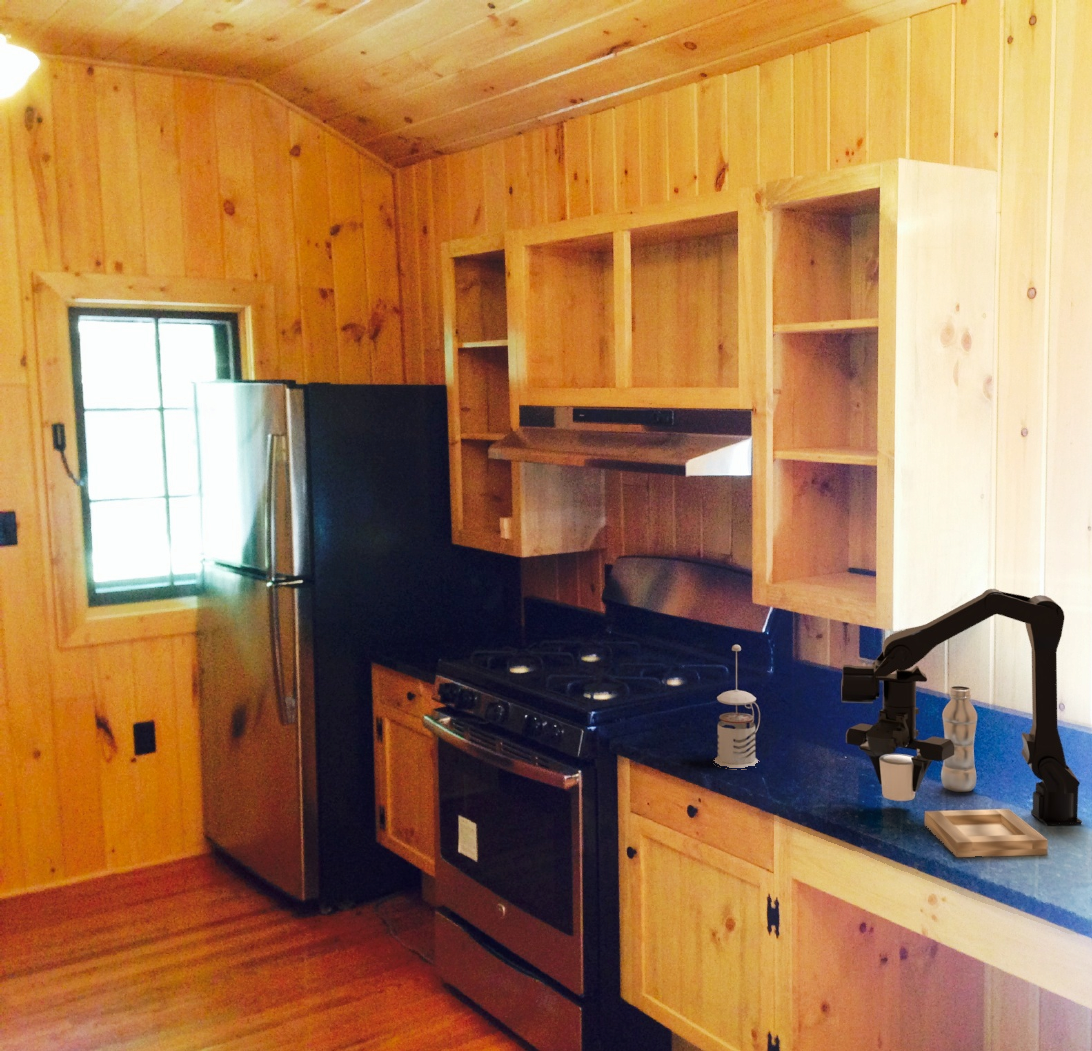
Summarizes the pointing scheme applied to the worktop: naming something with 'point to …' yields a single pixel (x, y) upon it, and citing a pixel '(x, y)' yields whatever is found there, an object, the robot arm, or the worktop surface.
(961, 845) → the holder tray
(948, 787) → the plastic bottle
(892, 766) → the white tapered cup
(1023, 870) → the worktop surface
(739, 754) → the french press
